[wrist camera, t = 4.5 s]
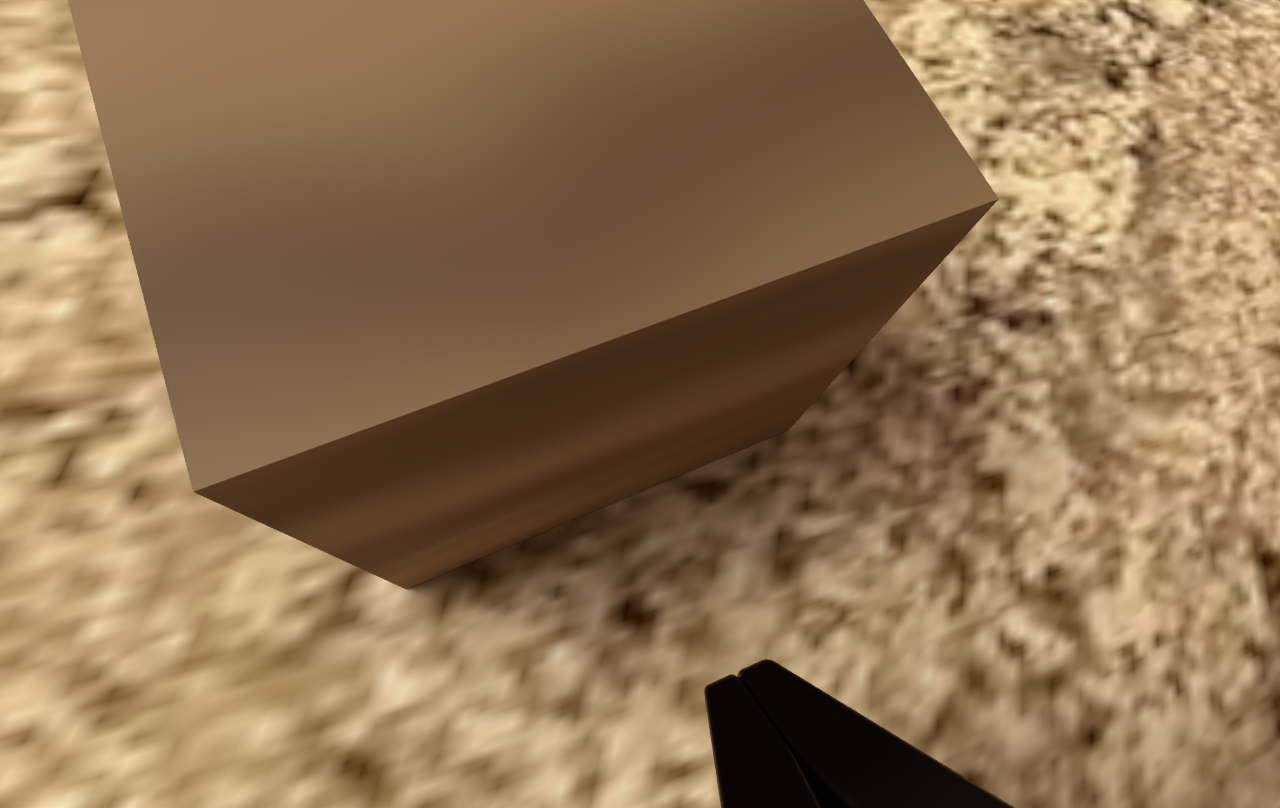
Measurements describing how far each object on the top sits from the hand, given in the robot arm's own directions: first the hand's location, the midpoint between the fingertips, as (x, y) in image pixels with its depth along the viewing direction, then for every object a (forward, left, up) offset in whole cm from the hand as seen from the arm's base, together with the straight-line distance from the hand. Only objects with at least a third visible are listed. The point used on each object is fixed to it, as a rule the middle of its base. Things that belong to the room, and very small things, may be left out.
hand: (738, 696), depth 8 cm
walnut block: (+9, -8, -7) cm, 14 cm away
